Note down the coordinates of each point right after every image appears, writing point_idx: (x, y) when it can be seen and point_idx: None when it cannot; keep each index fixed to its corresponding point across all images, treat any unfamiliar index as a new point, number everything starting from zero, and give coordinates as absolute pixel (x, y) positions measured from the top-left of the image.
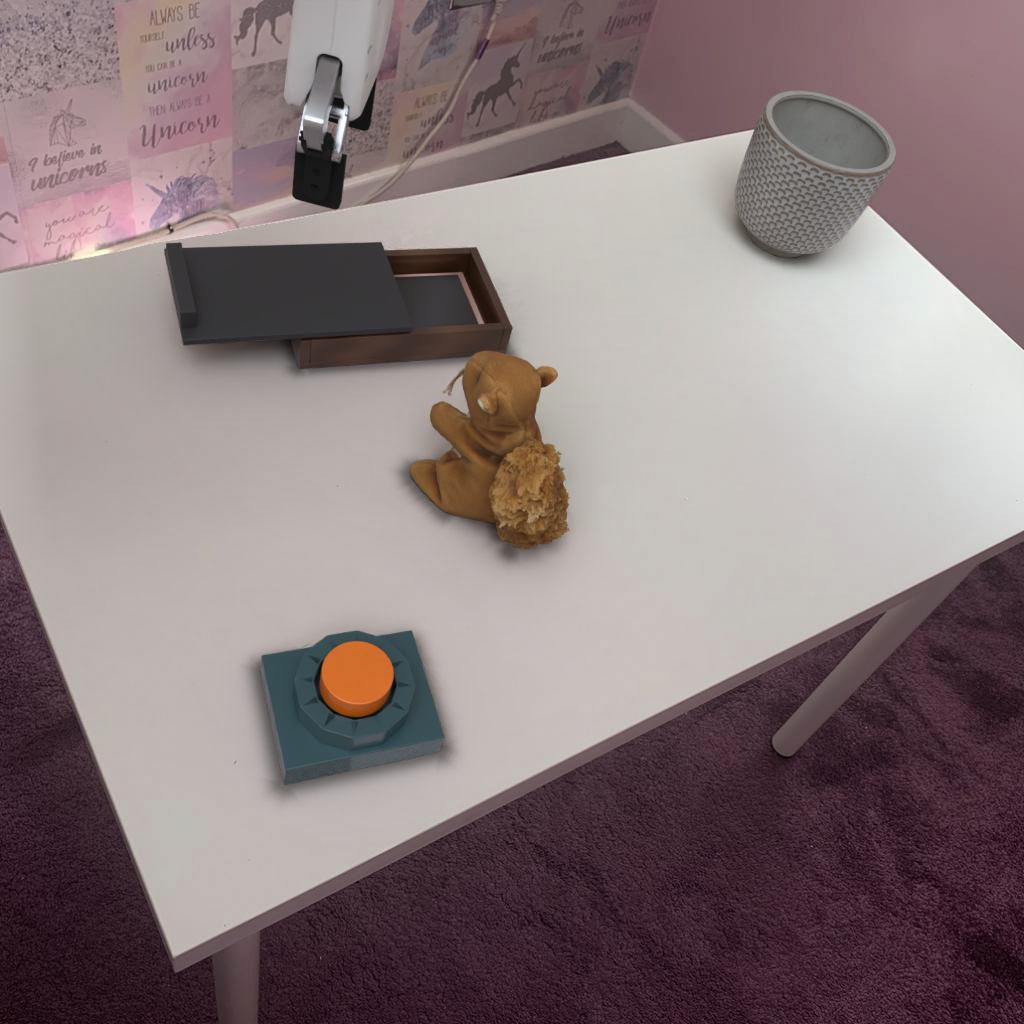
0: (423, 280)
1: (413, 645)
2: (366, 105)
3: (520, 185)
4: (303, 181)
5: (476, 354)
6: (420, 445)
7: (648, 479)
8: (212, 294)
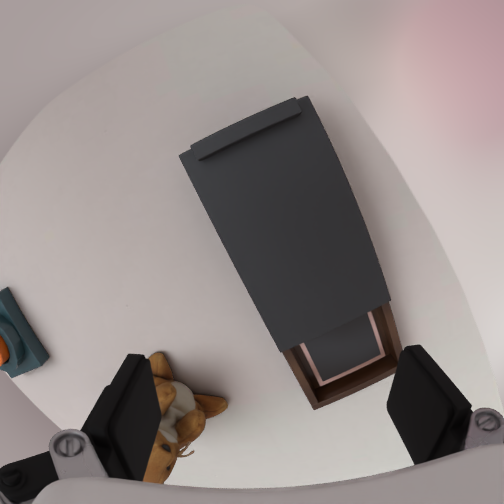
0: (367, 331)
1: (35, 366)
2: (405, 435)
3: (486, 354)
4: (97, 400)
5: (158, 453)
6: (189, 354)
7: (222, 464)
8: (254, 160)
